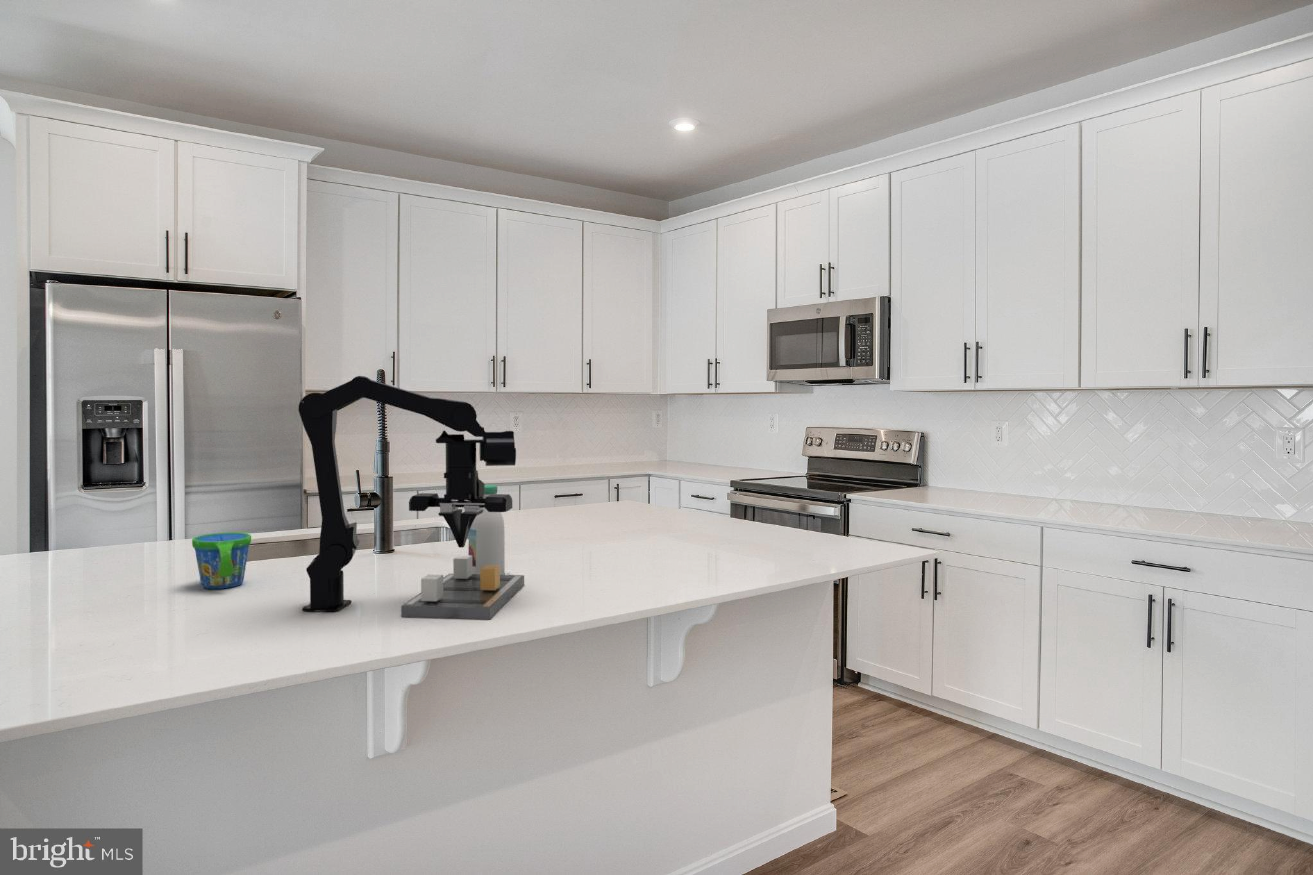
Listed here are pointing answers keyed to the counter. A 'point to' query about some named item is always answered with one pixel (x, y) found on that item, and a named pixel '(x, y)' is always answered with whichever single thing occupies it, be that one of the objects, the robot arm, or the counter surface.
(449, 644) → the counter surface
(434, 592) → the grey small block
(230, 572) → the snack cup
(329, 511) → the robot arm
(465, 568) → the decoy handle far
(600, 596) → the counter surface
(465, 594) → the panel
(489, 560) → the milk bottle
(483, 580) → the orange block
